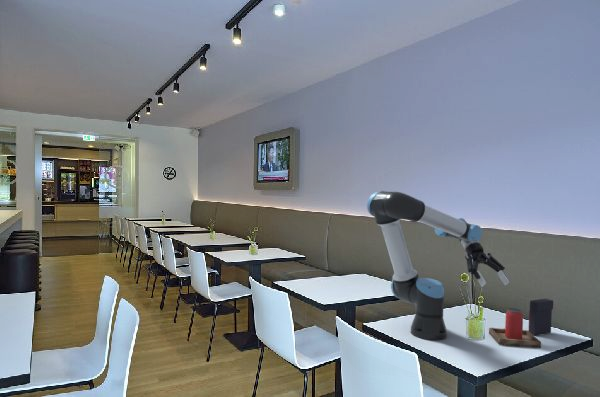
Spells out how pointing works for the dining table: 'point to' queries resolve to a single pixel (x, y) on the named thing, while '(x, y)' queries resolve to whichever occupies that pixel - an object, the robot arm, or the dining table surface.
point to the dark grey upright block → (540, 316)
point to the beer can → (514, 324)
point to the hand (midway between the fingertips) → (495, 284)
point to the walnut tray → (526, 340)
